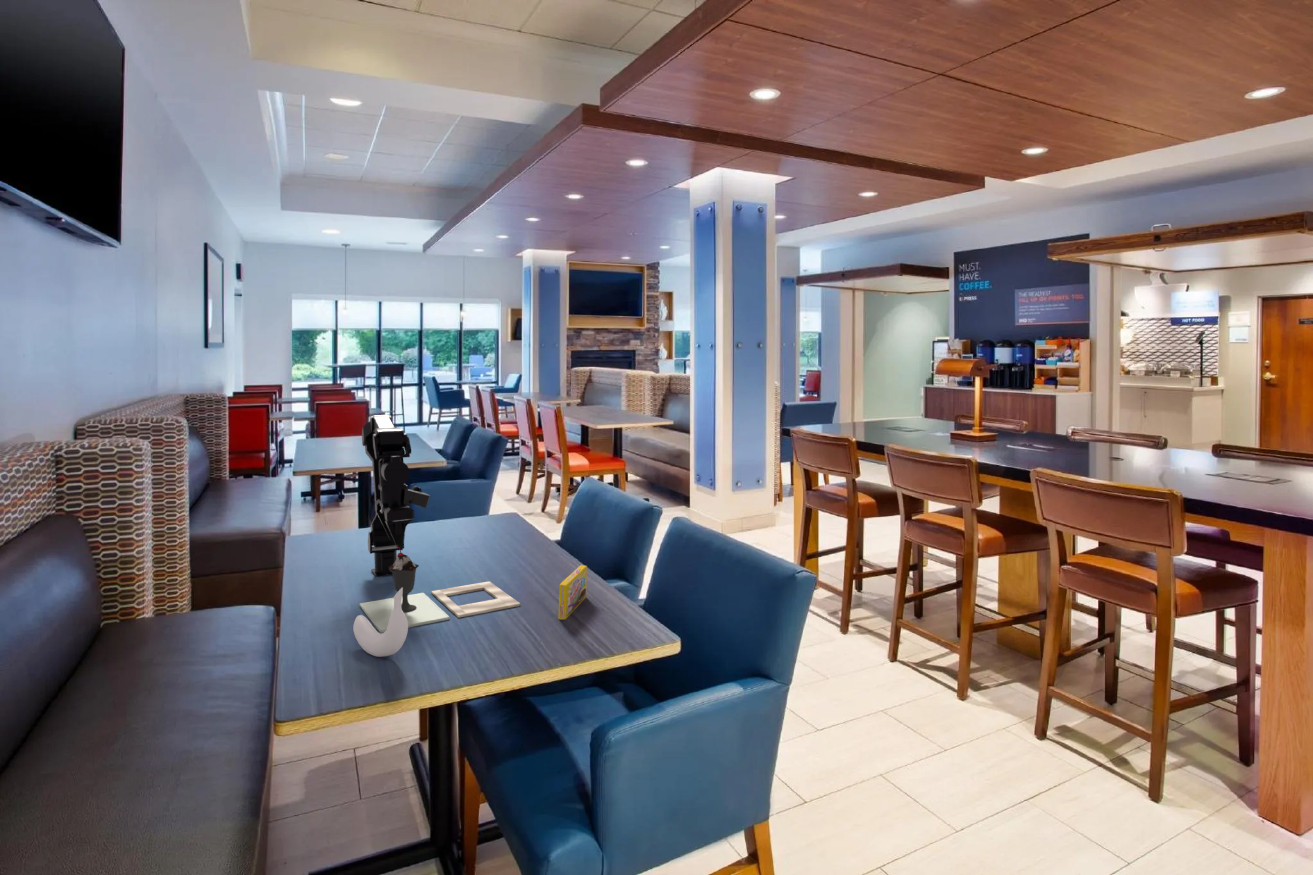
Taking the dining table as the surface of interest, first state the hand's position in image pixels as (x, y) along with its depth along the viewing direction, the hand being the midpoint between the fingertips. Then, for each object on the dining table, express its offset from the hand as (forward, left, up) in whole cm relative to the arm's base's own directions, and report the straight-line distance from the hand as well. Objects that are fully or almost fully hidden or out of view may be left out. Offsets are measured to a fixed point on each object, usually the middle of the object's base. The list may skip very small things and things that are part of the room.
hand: (396, 543), depth 187 cm
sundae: (+13, -2, -13) cm, 18 cm away
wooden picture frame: (+14, +15, -13) cm, 24 cm away
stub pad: (+14, -2, -13) cm, 19 cm away
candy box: (+32, +32, -13) cm, 47 cm away
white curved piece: (+35, -13, -13) cm, 39 cm away
